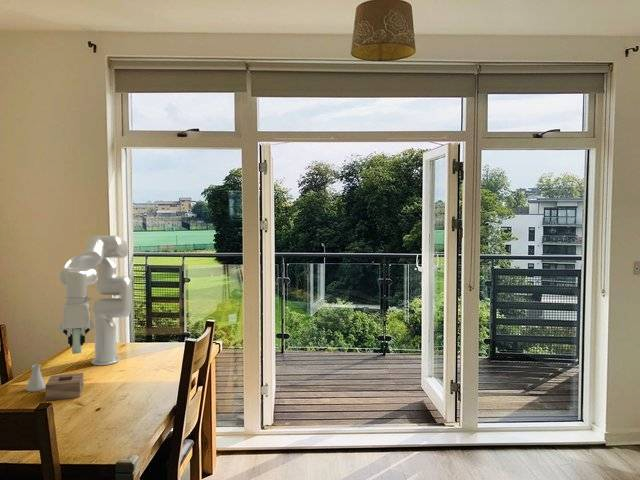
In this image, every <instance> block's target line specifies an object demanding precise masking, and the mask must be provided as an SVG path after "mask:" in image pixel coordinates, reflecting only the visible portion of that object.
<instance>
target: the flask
mask: <svg viewBox="0 0 640 480" xmlns="http://www.w3.org/2000/svg"><path fill="white" fill-rule="evenodd" d="M41 366H42V364H38V363H37V364H33V365H31V366H30V367H31V368H32V369H31V375H30V378H29V380H28V383H27V385H26V388H25V391H27V392H34V393H35V392H39V391H44V390H46V384H47V383H46V382H45V380H44V378H43V375H42V373H41Z"/></svg>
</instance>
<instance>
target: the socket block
mask: <svg viewBox="0 0 640 480" xmlns="http://www.w3.org/2000/svg"><path fill="white" fill-rule="evenodd" d="M45 384H46V388H45V401H52V400H61V399H62V400H63V399H73V398H80V397H81V394H82V392H83V389H84V372H79V373H68V374H67V373H66V374H53V375H50V377H49V379H48V380H47V382H46V383H45Z"/></svg>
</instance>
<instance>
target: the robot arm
mask: <svg viewBox="0 0 640 480" xmlns="http://www.w3.org/2000/svg"><path fill="white" fill-rule="evenodd" d="M128 254H129V244H128V242H127V241H126V240H125V239H124V238H122V237H121V236H118V235H94V236H92V237H91V238H90V239H89V241H88V243H87V245H86V247H85V248H84V250H83V251H82V252H81V253H79V254H77V255H75V256H74V257H71V258H69V259H68V260H67V261H66V262H64V265H63V266H62V269H61V270H60V272H59V282H60V283H61V285H63V286H65V303H64V305H63V307H62V308H63V309H62V320H61V321H62V322H61V323H60V325H59V326H58V328H57V331H59V332H61V333H64V334H65V335H66V336H67V343H68V345H69V347H72V329H79V328H81V347H82V346H84V344H85V342H86V335H87V334H88V333H89V332H90V331H92V330H94V358H93V359H91V364H92V365H93V366H110V365H114V364H117V363H118V362H120V357H118V356H117V337H116V336H117V334H116V333H117V328H116V326H117V325H116V323H115V322H114V320H113V319H112V318H115V319H116V318H127V317H129V316H130V314H131V312H132V311H131V310H132V294H133V293H132V290H133V285H132V280H131V278H130V277H129V276H127V275H126V276H125V275H121V276H120V275H118V276H117V264H116V263H115V262H114V260H113V259H123V258H126V257H127V256H128ZM96 266H97V270H96V269H94V268H95V267H96ZM93 267H94V268H93ZM95 284H96V290H97V293H98V295H101V296H120V297H113V298H112V297H105V298H104V297H103V298H97V299H96V300H94V301H93V303H92V314H93V322H94V323H93V322H92V319H91V308H90V303H89V301H91V296H90V297H89V296H87V290H88V289H87V287H90V286H93V285H95Z"/></svg>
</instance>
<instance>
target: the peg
mask: <svg viewBox="0 0 640 480" xmlns="http://www.w3.org/2000/svg"><path fill="white" fill-rule="evenodd" d="M71 334H72V346H71V354H73V355H76V354H81V353H82V346H81V334H82V331H81V328H79V329H72V331H71Z"/></svg>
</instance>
